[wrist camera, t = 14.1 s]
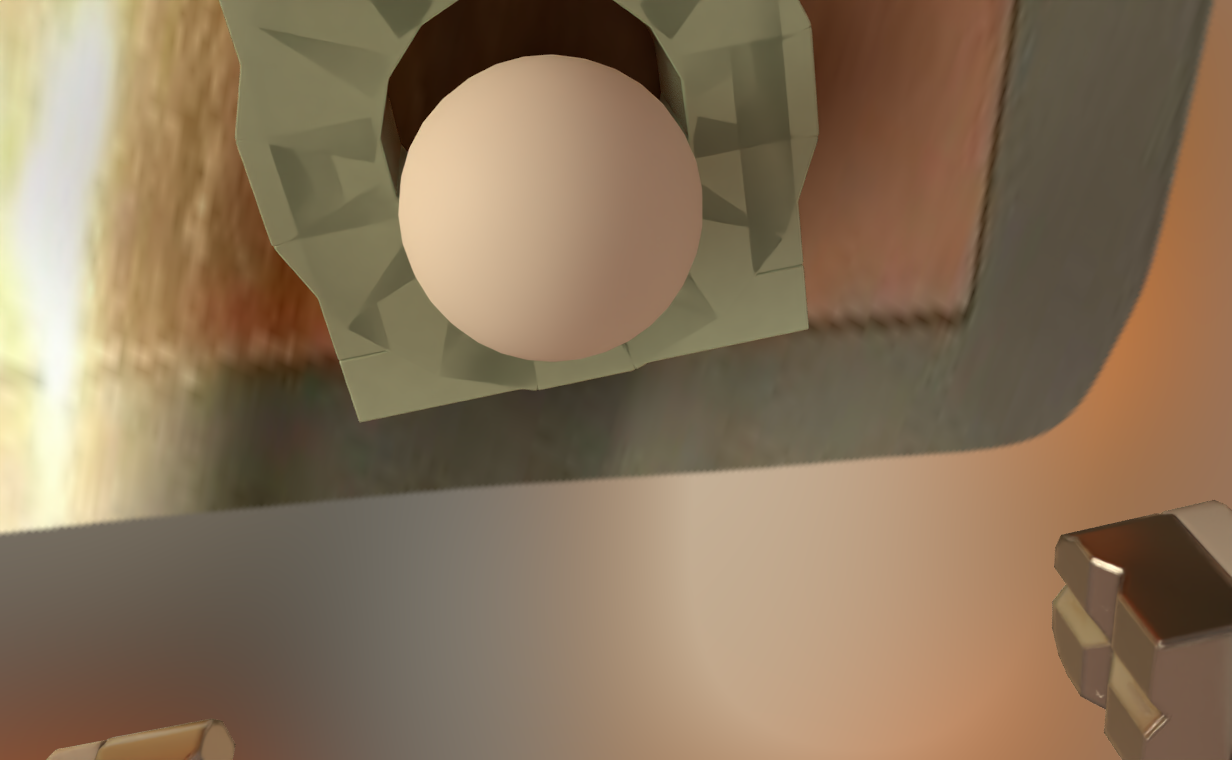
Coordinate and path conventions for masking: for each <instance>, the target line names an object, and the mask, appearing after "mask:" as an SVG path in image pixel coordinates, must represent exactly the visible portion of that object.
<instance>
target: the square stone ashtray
mask: <svg viewBox="0 0 1232 760" xmlns="http://www.w3.org/2000/svg"><path fill="white" fill-rule="evenodd" d="M457 1H458V0H219V2H220V5H221V8H222V11H223V14H224V17H225V20H226V24H227V27H228V30H229V33H230V36H231V39H232V42H233V45H234V48H235V51H236V54H237V57H238V60H239V63H240V76H239V89H238V102H237V116H236V129H235V139H236V145H237V148H238V151H239V153H240V156H241V159H242V162H243V165H244V168H245V171H246V174H247V177H248V179H249V182H250V185H251V188H252V191H253V194H254V197H255V200H256V202H257V205H258V208H259V211H260V214H261V217H262V220H263V223H264V226H265V228H266V231H267V234H268V237H269V240H270V243H271V245H272V246H274V249H275V250H276V251H277V253H278V254H279V255H280V256H281V257H282V258H283V259H284V261H285V262H286V263H287V264H288V265H289V266H290V267H291V268H292V270H293V271H294V272H295V273H296V274H297V275H298V276H299V278H300V279H301V280H302V281H303V282H304V283H305V284H306V286H307V287H308V288H309V289H310V290H311V291H312V292H313V294H314V295H315V296H316V297H317V298H318V300H319V303H320V306H321V309H322V312H323V315H324V318H325V321H326V324H327V327H328V330H329V333H330V337H331V340H332V343H333V346H334V349H335V352H336V355H337V358H338V359H339V360H340V361H339V363H340V366H341V369H342V372H343V375H344V378H345V381H346V384H347V387H348V390H349V393H350V396H351V399H352V402H353V405H354V408H355V411H356V414H357V417H358V420H359V421H360V422H365V421H370V420H375V419H379V418H384V417H389V416H394V415H399V414H403V413H408V412H413V411H418V410H423V409H427V408H432V407H437V406H442V405H447V404H451V403H456V402H461V401H466V400H471V399H475V398H480V397H485V396H490V395H495V394H499V393H504V392H509V391H514V390H519V389H527V390H534V391H536V390H537V389H538V390H542V389H547V388H552V387H557V386H562V385H566V384H571V383H576V382H581V381H585V380H590V379H595V378H600V377H605V376H609V375H614V374H619V373H624V372H629V371H633V370H635V368H636V369H638V368H640V367H642V366H643V365H645V364H646V363H648V362H653V361H658V360H663V359H668V358H672V357H677V356H682V355H687V354H692V353H696V352H701V351H706V350H711V349H716V348H720V347H725V346H730V345H735V344H740V343H744V342H749V341H754V340H759V339H764V338H768V337H773V336H778V335H783V334H788V333H792V332H797V331H802V330H807V329H808V328H809V323H808V311H807V299H806V287H805V275H804V266H803V251H802V239H801V227H800V215H799V203H798V200H799V197H800V194H801V191H802V188H803V185H804V182H805V179H806V176H807V172H808V169H809V166H810V163H811V160H812V157H813V154H814V151H815V148H816V145H817V141H818V135H819V120H818V106H817V92H816V78H815V64H814V50H813V36H812V27H811V22H810V20H809V18H808V16H807V14H806V12H805V10H804V8H803V6H802V4H801V2H800V0H613V1H615V2H616V3H617V4H619V5H620V6H621V7H623V8H624V9H626V10H627V11H628V12H630V13H631V14H633V15H634V16H635V17H637V18H638V19H639V20H641V21H642V22H643V23H644V24H645V26H646V28H647V29H648V31H649V33H650V34H651V36H652V38H653V39H654V45H655V52H656V59H657V66H658V73H659V80H660V87H661V95H660V99H659V101H660V102H662V103H663V105H664V106H665V107H666V109H667V110H668V111H669V113H670V114H671V116H672V117H673V118H674V120H675V121H676V123H677V124H678V125H679V127H680V128H681V130H682V131H683V133H684V135H685V137H686V139H687V141H688V144H689V146H690V148H691V150H692V153H693V155H694V157H695V159H696V162H697V167H698V172H699V176H700V181H701V186H702V231H701V236H700V241H699V245H698V250H697V254H696V257H695V259H694V261H693V264H692V266H691V268H690V271H689V273H688V276H687V278H686V280H685V282H684V284H683V286H682V288H681V289H680V291H679V292H678V294H677V295H676V297H675V298H674V300H673V301H672V303H671V304H670V306H669V307H668V308H667V309H666V310H665V311H664V312H663V313H662V314H661V315H660V316H659V317H658V318H657V320H656V321H655V322H654V323H653V324H652V325H651V326H649V327H648V328H647V329H645V330H644V331H642V332H641V333H640V334H638V335H637V336H635V337H634V338H632V339H631V340H630V341H628V342H626V343H624V344H622V345H619V346H617V347H615V348H613V349H611V350H609V351H607V352H604V353H601V354H597V355H594V356H590V357H586V358H583V359H578V360H568V361H558V362H548V361H534V360H525V359H521V358H517V357H514V356H510V355H506V354H502V353H500V352H497V351H495V350H493V349H491V348H489V347H487V346H484V345H482V344H480V343H478V342H477V341H475V340H474V339H472V338H471V337H469V336H468V335H467V334H465V333H464V332H462V331H461V330H460V329H458V328H457V327H456V326H454V325H453V324H452V323H451V322H450V321H449V320H448V319H447V318H446V317H445V316H444V315H443V314H442V313H441V312H440V311H439V310H438V309H437V308H436V307H435V306H434V305H433V303H432V302H431V301H430V300H429V298H428V296H427V295H426V293H425V292H424V290H423V288H422V287H421V285H420V284H419V282H418V280H417V279H416V277H415V274H414V272H413V270H412V268H411V265H410V262H409V260H408V257H407V254H406V251H405V249H404V246H403V243H402V237H401V230H400V223H399V216H398V212H399V197H400V183H401V175H402V172H403V168H404V165H405V161H406V158H407V154H408V152H407V151H406V150H405V148H404V147H403V146H402V144H401V140H400V136H399V132H398V129H397V125H396V121H395V118H394V114H393V110H392V106H391V103H390V99H389V95H388V87H389V80H390V76H391V75H392V73H393V71H394V70H395V68H396V66H397V65H398V63H399V62H400V60H401V58H402V57H403V55H404V53H405V52H406V50H407V48H408V47H409V45H410V44H411V42H412V40H413V39H414V37H415V35H416V34H417V32H418V31H419V29H420V27H421V26H422V25H423V24H425V23H426V22H428V21H429V20H431V19H432V18H433V17H435V16H436V15H438V14H439V13H441V12H442V11H444V10H445V9H446V8H448V7H449V6H451V5H452V4H454V3H455V2H457Z"/></svg>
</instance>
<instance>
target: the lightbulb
mask: <svg viewBox="0 0 1232 760" xmlns="http://www.w3.org/2000/svg"><path fill="white" fill-rule="evenodd" d="M398 216H399V223H400V230H401V237H402V243H403V246H404V249H405V251H406V254H407V257H408V260H409V262H410V265H411V268H412V270H413V272H414V274H415V277H416V279H417V280H418V282H419V284H420V285H421V287H422V288H423V290H424V292H425V293H426V295H427V296H428V298H429V300H430V301H431V302H432V303H433V305H434V306H435V307H436V308H437V309H438V310H439V311H440V312H441V313H442V314H443V315H444V316H445V317H446V318H447V319H448V320H449V321H450V322H451V323H452V324H453V325H454V326H456V327H457V328H458V329H460V330H461V331H462V332H464V333H465V334H467V335H468V336H469V337H471V338H472V339H474V340H475V341H477V342H478V343H480V344H482V345H484V346H487V347H489V348H491V349H493V350H495V351H497V352H500V353H502V354H506V355H510V356H514V357H517V358H521V359H525V360H534V361H548V362H558V361H568V360H578V359H583V358H586V357H590V356H594V355H597V354H601V353H604V352H607V351H609V350H611V349H613V348H615V347H617V346H619V345H622V344H624V343H626V342H628V341H630V340H631V339H632V338H634V337H635V336H637V335H638V334H640V333H641V332H642V331H644V330H645V329H647V328H648V327H649V326H651V325H652V324H653V323H654V322H655V321H656V320H657V318H658V317H659V316H660V315H661V314H662V313H663V312H664V311H665V310H666V309H667V308H668V307H669V306H670V304H671V303H672V301H673V300H674V298H675V297H676V295H677V294H678V292H679V291H680V289H681V288H682V286H683V284H684V282H685V280H686V278H687V276H688V273H689V271H690V268H691V266H692V264H693V261H694V259H695V257H696V254H697V250H698V245H699V241H700V236H701V231H702V186H701V181H700V176H699V172H698V167H697V162H696V159H695V157H694V155H693V153H692V150H691V148H690V146H689V144H688V141H687V139H686V137H685V135H684V133H683V131H682V130H681V128H680V127H679V125H678V124H677V123H676V121H675V120H674V118H673V117H672V116H671V114H670V113H669V111H668V110H667V109H666V107H665V106H664V105H663V103H662V102H660V101H659V100H658V99H657V98H656V97H655V96H654V95H653V94H652V93H651V92H649V91H648V90H647V89H646V88H645V87H644V86H643V85H642V84H640V83H639V82H637V81H635V80H633V79H632V78H630V77H628V76H627V75H625V74H623V73H622V72H620V71H618V70H616V69H614V68H611V67H608V66H605V65H603V64H600V63H597V62H594V61H591V60H588V59H583V58H577V57H569V56H561V55H553V54H551V55H538V56H524V57H520V58H517V59H513V60H509V61H506V62H502V63H499V64H495V65H493V66H491V67H489V68H488V69H486V70H484V71H482V72H480V73H478V74H476V75H474V76H472V77H470V78H469V79H467V80H466V81H465V82H463V83H462V84H461V85H460V86H458V87H457V88H456V89H455V90H453V91H452V92H451V93H449V94H448V95H447V96H446V97H444V98H443V99H442V100H441V101H440V103H439V104H438V105H437V106H436V107H435V109H434V110H433V111H432V112H431V113H430V115H429V116H428V117H427V118H426V119H425V121H424V122H423V123H422V125H421V127H420V129H419V131H418V133H417V135H416V137H415V138H414V140H413V142H412V144H411V146H410V148H409V151H408V154H407V158H406V161H405V165H404V168H403V172H402V175H401V183H400V197H399V212H398Z"/></svg>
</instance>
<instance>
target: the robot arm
mask: <svg viewBox="0 0 1232 760" xmlns="http://www.w3.org/2000/svg"><path fill="white" fill-rule="evenodd" d="M1054 567H1055V569H1056V570H1057V572H1058V573H1059V575H1060V576H1061V577H1062V579H1063V580H1064V582H1065V583H1066V585H1065V586H1064V588H1063V589H1062V590H1061V591H1060V593H1059V594H1058V595H1057V597H1056V598H1055V599H1054V600H1053V603H1052V629H1053V633H1054V638H1055V642H1056V646H1057V650H1058V654H1059V657H1060V659H1061V662H1062V664H1063V666H1064V668H1065V670H1066V673H1067V675H1068V677H1069V678H1070V680H1071V682H1072V683H1073V685H1074V686H1075V688H1076V690H1077V691H1078V693H1079V694H1080V696H1081V697H1083V698H1085V699H1087V700H1089V701H1090V702H1092V703H1094V704H1096V705H1098V706H1100V707H1102V708H1104V709H1106V716H1105V728H1104V733H1105V735H1106V736H1107V738H1108V739H1109V741H1110V742H1111V744H1112V745H1113V747H1114V748H1115V750H1116V751H1117V753H1118V754H1119V756H1120V757H1121V759H1122V760H1232V510H1231V509H1230V508H1229V507H1228V506H1227V505H1225V504H1223V503H1220V502H1218V501H1215V500H1212V501H1207V502H1203V503H1199V504H1194V505H1190V506H1185V507H1181V508H1177V509H1172V510H1168V511H1164V512H1162V513H1161V514H1152V515H1148V516H1143V517H1139V518H1134V519H1130V520H1125V521H1121V522H1117V523H1113V524H1108V525H1103V526H1099V527H1095V528H1090V529H1086V530H1081V531H1077V532H1072V533H1068V534H1064V535H1061V537H1060V539H1059V541H1058V543H1057V545H1056V550H1055V564H1054ZM234 748H235V743H234V741H233V739H232V738H231V736H230V734H229V732H228V730H227V729H226V727H225V725H224V723H223V722H222V721H220V720H214V719H208V720H203V721H198V722H192V723H187V724H182V725H177V726H171V727H166V728H161V729H156V730H151V731H145V732H140V733H135V734H129V735H124V736H119V737H114V738H110V739H108V740H105V741H101V742H95V743H89V744H83V745H78V746H73V747H67V748H62V749H56V751H54V752H53V754H51V755H50V756H49V758H47V759H46V760H232V758H233V754H234Z"/></svg>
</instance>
